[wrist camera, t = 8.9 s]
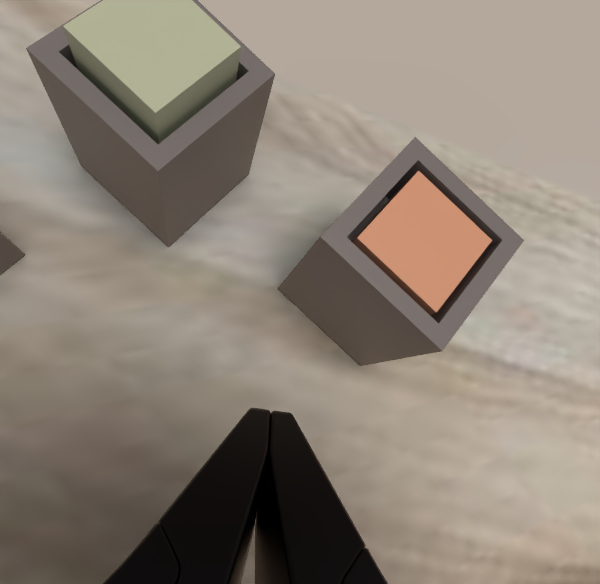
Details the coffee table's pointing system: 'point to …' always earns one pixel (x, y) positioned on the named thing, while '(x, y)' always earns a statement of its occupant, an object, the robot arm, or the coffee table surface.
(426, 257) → the terracotta button
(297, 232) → the coffee table surface
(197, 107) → the sage-green button
